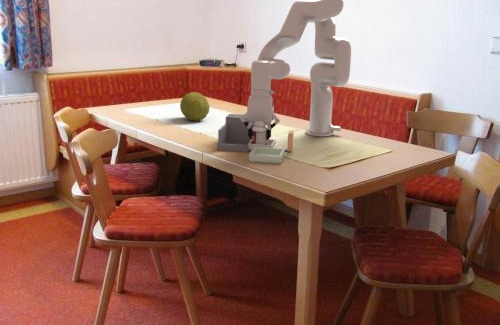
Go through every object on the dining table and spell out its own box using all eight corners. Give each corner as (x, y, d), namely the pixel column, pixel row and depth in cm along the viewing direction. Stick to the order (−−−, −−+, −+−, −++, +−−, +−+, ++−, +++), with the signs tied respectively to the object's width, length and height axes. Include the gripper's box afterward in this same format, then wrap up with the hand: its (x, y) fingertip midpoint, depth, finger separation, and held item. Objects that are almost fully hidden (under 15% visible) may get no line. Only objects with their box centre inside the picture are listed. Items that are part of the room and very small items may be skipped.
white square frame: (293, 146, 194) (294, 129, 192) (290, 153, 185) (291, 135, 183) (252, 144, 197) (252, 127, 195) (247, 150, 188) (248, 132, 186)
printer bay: (256, 139, 205) (257, 115, 202) (247, 152, 186) (248, 125, 183) (229, 137, 207) (230, 113, 204) (218, 150, 188) (218, 123, 185)
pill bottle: (250, 146, 194) (251, 118, 191) (265, 146, 195) (266, 118, 192) (252, 150, 188) (253, 122, 185) (268, 150, 189) (269, 122, 186)
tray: (284, 155, 183) (284, 148, 182) (280, 164, 172) (280, 157, 171) (254, 153, 185) (254, 146, 184) (248, 161, 174) (248, 154, 173)
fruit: (217, 120, 240) (210, 96, 230) (191, 132, 237) (183, 108, 227) (205, 105, 251) (197, 81, 241) (180, 116, 248) (171, 92, 238)
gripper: (284, 92, 187) (282, 137, 192) (240, 90, 190) (239, 135, 195) (281, 95, 180) (279, 142, 185) (236, 93, 183) (236, 139, 188)
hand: (259, 138), depth 190 cm, fingers closed on pill bottle, 6 cm apart
